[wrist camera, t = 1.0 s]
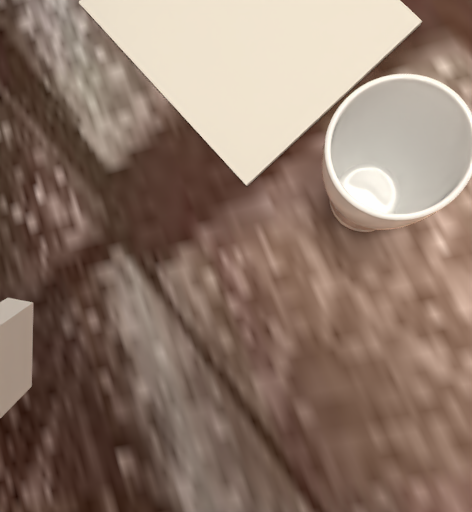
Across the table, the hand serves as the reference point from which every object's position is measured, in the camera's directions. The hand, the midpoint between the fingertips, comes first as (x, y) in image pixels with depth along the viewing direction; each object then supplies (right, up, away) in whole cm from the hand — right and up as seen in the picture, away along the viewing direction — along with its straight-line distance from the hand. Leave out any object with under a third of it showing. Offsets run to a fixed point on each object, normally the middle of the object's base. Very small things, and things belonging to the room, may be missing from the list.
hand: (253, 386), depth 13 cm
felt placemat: (0, +24, +24) cm, 34 cm away
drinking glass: (+9, +8, +22) cm, 26 cm away
